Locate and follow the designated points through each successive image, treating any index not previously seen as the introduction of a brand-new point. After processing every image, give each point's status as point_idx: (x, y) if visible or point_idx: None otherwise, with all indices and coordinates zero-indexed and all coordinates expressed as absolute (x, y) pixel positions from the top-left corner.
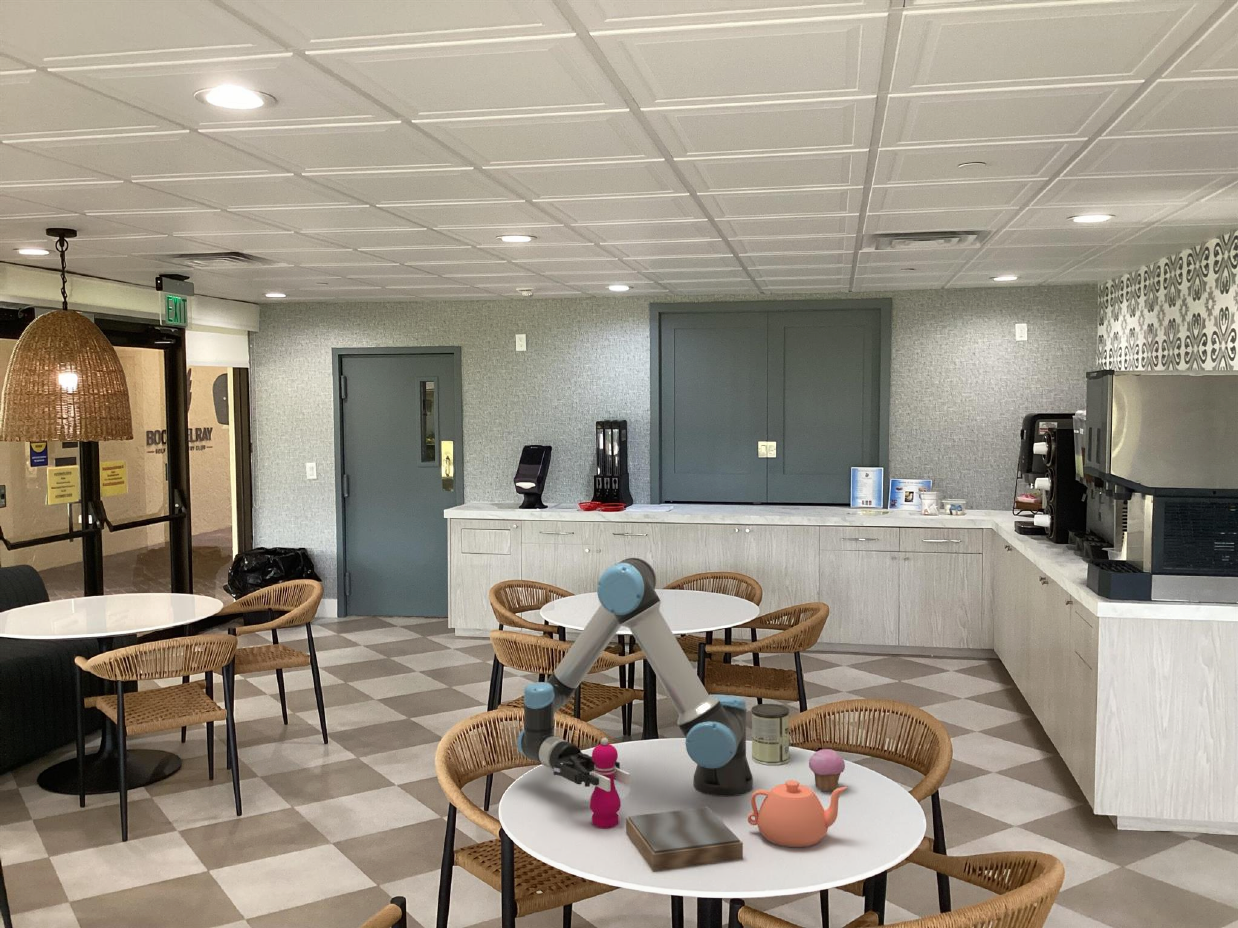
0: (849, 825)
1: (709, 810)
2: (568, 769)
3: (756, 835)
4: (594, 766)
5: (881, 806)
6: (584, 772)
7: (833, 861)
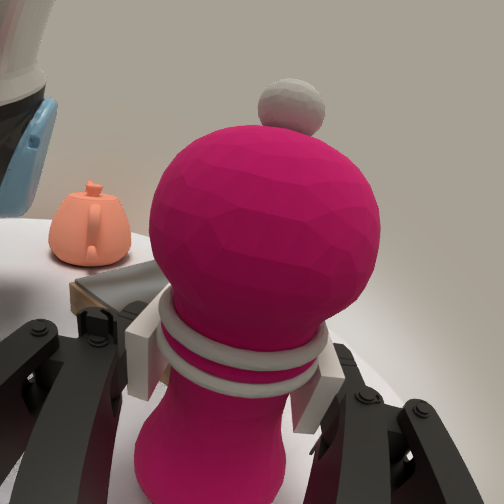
0: (48, 234)
1: (91, 277)
2: (477, 495)
3: (98, 272)
4: (321, 345)
5: (5, 224)
6: (382, 406)
7: (135, 241)
